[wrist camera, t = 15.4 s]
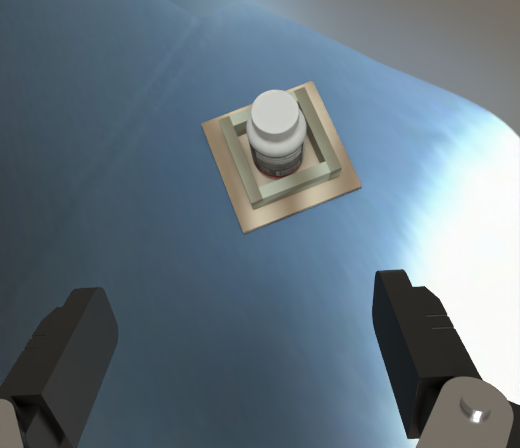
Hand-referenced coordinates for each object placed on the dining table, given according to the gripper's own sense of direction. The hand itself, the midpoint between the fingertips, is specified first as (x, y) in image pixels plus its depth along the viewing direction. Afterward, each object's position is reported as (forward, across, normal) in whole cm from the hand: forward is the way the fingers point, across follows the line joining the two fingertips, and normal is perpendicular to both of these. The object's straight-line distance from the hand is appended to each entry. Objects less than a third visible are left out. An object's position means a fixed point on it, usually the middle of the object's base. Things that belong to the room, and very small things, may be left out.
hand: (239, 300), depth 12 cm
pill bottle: (+31, -2, +9) cm, 32 cm away
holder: (+32, -2, +9) cm, 33 cm away
